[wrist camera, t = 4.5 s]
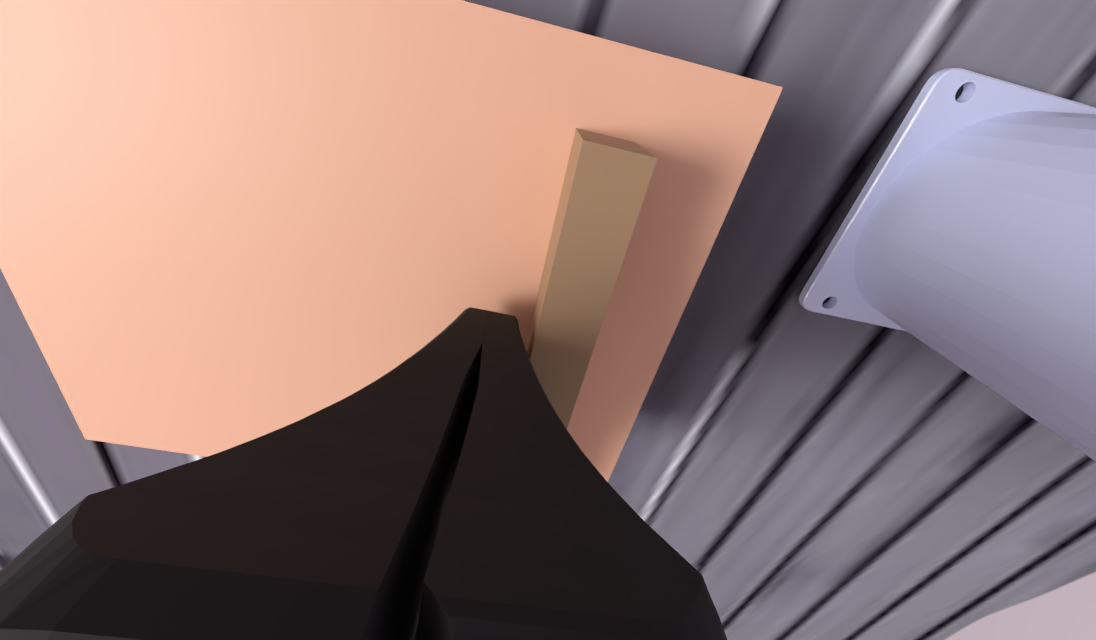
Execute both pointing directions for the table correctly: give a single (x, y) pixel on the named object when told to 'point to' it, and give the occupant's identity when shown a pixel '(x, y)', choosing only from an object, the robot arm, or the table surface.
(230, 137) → the sliding lid
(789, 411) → the table surface
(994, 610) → the table surface
